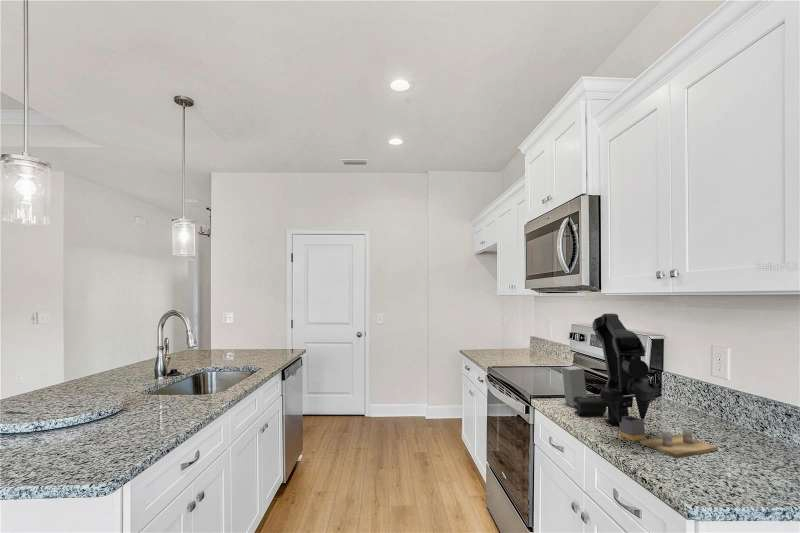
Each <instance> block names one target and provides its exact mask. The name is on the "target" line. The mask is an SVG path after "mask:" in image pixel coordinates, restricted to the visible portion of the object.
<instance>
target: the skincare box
mask: <svg viewBox="0 0 800 533" xmlns="http://www.w3.org/2000/svg"><path fill="white" fill-rule="evenodd" d="M561 370H562V379H563V388H564V397H565V403H566V404H567V405H569V406H571V407H572V408H574V405H576V406H577V403H576V402H574V397H583V398H588V393H587V387H586V379H585V369H584V368H582V367H579V366H576V365H575V366H574V365H573V366H562V367H561Z"/></svg>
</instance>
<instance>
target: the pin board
mask: <svg viewBox="0 0 800 533" xmlns="http://www.w3.org/2000/svg"><path fill="white" fill-rule="evenodd" d="M681 433H682V434H681ZM681 433H680V434H672V433H671V432H668V431H663V432H661V436H658V437H652V438H645V439H642V440H639V442H640V444H641V445H642V446H645V445H646V447H648V448H650V447H651V449H653V450H655V451H658V452H661V453H663V454H665V453H666V454H665V455H667V454H668V456H670V457H672V456H673V458H675V459H677V458H678V459H679V458H682V457H683V458H684V457H688V456H694V455H695V454H696V455H700V453H702V454H707V453H711V452H710V451H713V452H717V451H716V450H718V451H719V448H718V446H715V445H713V444H710V443H706V442H704V441H702V440H698V439H695V438H693V431H692V430H691V429H689V428H684V429H683V428H682V432H681ZM706 452H707V453H706Z"/></svg>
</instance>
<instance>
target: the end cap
mask: <svg viewBox="0 0 800 533" xmlns="http://www.w3.org/2000/svg"><path fill="white" fill-rule="evenodd" d="M574 402H576V403H577V406H576V405H574V407H573V408H574V410H575V412H574V414H576V415H578V416H604V415H605V414H606V413H607V411H608V407H606V406H605V405H604V404H603V399H601V397H598V396H595V395H593V396H588V397H587V398H583V397H574Z"/></svg>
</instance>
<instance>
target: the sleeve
mask: <svg viewBox="0 0 800 533" xmlns="http://www.w3.org/2000/svg"><path fill="white" fill-rule="evenodd" d="M619 425H620V426H619V436H620V437H622V436H623V437H622V438H624V437H625V438H624V439H626V440H630V441H631V440H632V442H634V441H640V440H645V439H646V432H645V419H641V418H639V417H637V416H633V415H629V416H625V417H622V422H621V423H620V422H619Z"/></svg>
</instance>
